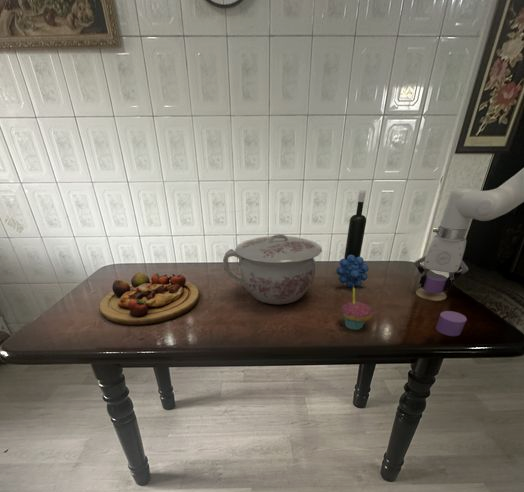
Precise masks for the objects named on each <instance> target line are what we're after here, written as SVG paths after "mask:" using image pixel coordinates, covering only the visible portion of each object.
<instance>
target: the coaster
mask: <svg viewBox="0 0 524 492" xmlns="http://www.w3.org/2000/svg"><path fill="white" fill-rule="evenodd" d="M415 294H416V296H418V297H419V298H420V299H423V300H427V301H433V302H441V301H444V300H446V299H447V297H448V296H447V294H446V293H445V292H444V291H443V292H442V293H431V292H427V291H425V290H424V289H423V287H421V288H418V289H416V290H415Z"/></svg>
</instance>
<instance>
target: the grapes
mask: <svg viewBox="0 0 524 492" xmlns="http://www.w3.org/2000/svg"><path fill="white" fill-rule="evenodd" d="M364 262H365V260H364V258H363V257H362V256H360V257H357V258H355V256H354V255H349V256H348V257H347V260H346V259H344V258H341V259H340V260H339V266H338V267H337V268H336V270H335V271H336V274H337V275H338V281H339V282H340V283H341V284H345V286H346V287H347V288H349V289H350V288H353V286H354V287H357V288H358V287H361V285H362V284H363V283H362V281H363V282H364V281H365V282H366V280H367V279H368V277H369V276H368V274H367V272H368V271H369V265H368V264H367V263H364Z"/></svg>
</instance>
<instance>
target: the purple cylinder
mask: <svg viewBox="0 0 524 492" xmlns="http://www.w3.org/2000/svg"><path fill="white" fill-rule="evenodd" d="M426 274H427V275H426V279H425V282H424V285H423V287H422V288H423V289H424V290H425V291H427V292H431V293H442V292H443V293H444V287H445V285H446V282H447V279H448V277H447V276H445V275H443V274H439V273H426Z"/></svg>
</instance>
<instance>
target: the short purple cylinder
mask: <svg viewBox="0 0 524 492" xmlns="http://www.w3.org/2000/svg"><path fill="white" fill-rule="evenodd" d="M467 321H468V318H467V317H466V315H464V314H462V313H460V312H457V311H452V310H445V311H444V310H443V311H441V312H440V314H439V317H438V319H437V322H436V324H435V331H437V332H438V333H440V334H442V335H444V336H448V337H458V336H460V335H462V332H463V330H464V328H465V325H466V323H467Z"/></svg>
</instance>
